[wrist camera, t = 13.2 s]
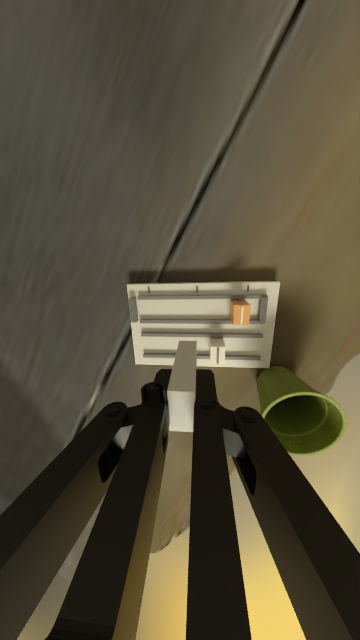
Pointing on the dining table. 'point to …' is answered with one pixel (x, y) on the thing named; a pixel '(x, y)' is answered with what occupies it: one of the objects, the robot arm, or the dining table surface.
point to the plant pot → (299, 413)
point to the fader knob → (239, 312)
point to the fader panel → (203, 322)
